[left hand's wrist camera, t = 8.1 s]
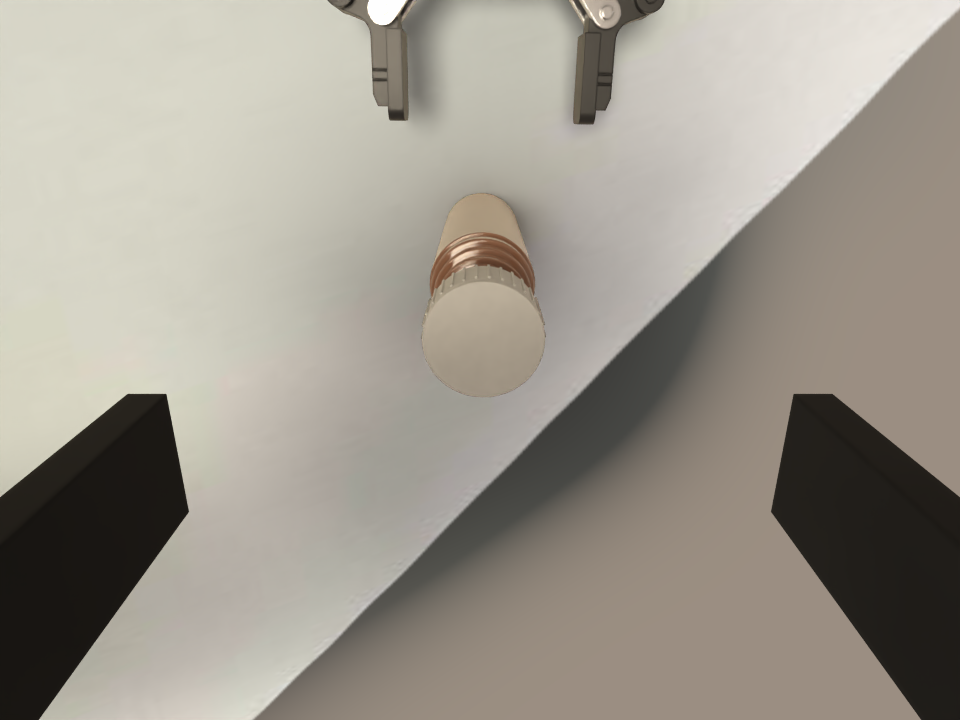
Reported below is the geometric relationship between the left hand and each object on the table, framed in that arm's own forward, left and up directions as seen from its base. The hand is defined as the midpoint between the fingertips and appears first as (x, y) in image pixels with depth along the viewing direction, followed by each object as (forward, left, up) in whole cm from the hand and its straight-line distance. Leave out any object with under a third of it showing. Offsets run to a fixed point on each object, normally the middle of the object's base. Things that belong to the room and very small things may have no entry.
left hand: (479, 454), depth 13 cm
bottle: (0, 0, -27) cm, 27 cm away
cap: (0, 0, -7) cm, 7 cm away
